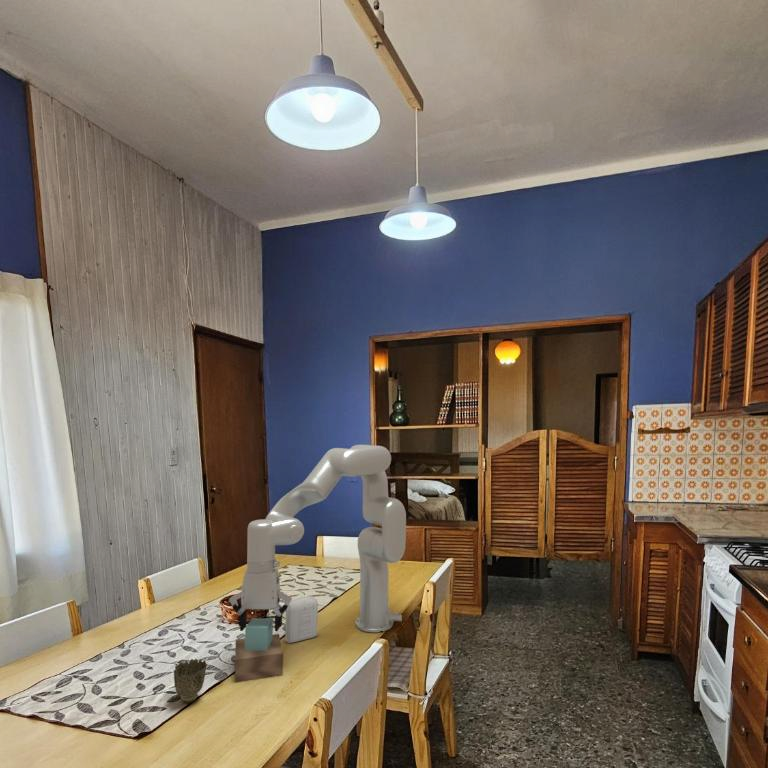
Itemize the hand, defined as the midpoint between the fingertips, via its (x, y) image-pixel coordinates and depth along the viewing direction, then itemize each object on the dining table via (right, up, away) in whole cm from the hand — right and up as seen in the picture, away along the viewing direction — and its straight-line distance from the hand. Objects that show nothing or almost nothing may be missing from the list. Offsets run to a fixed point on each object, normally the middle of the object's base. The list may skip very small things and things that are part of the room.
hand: (260, 629), depth 131 cm
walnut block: (0, -10, -1) cm, 10 cm away
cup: (-13, -9, -16) cm, 23 cm away
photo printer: (+8, -12, +17) cm, 22 cm away
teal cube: (0, -4, 0) cm, 4 cm away
